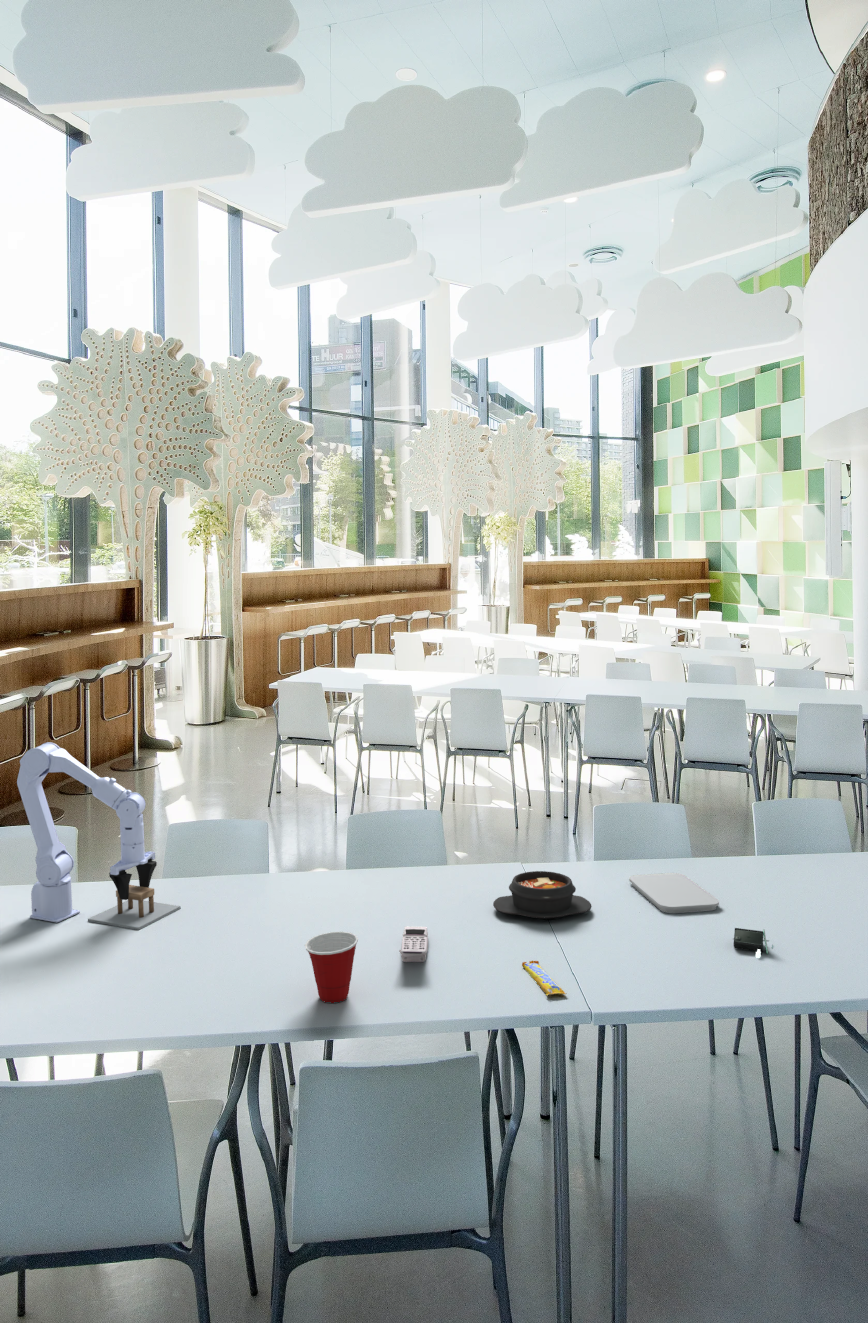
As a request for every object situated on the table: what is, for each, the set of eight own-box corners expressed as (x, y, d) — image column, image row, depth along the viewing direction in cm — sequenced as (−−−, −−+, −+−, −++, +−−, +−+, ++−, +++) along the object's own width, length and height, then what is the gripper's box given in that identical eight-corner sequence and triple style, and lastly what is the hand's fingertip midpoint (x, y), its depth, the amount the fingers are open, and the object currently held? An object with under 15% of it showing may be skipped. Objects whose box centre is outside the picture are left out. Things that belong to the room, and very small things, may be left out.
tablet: (680, 880, 260) (680, 872, 260) (723, 912, 235) (723, 903, 235) (625, 883, 258) (625, 875, 258) (662, 916, 232) (663, 907, 232)
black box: (710, 956, 207) (711, 933, 207) (716, 933, 221) (717, 910, 221) (782, 966, 202) (782, 942, 201) (783, 941, 216) (784, 918, 215)
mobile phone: (398, 951, 197) (403, 909, 221) (398, 978, 197) (403, 933, 222) (426, 951, 196) (428, 909, 221) (426, 978, 197) (428, 933, 222)
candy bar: (520, 968, 202) (520, 960, 202) (538, 966, 203) (538, 958, 203) (547, 1002, 186) (547, 993, 185) (567, 999, 187) (567, 990, 186)
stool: (141, 918, 232) (140, 894, 231) (116, 913, 235) (115, 890, 234) (155, 911, 236) (154, 888, 236) (130, 907, 239) (129, 884, 239)
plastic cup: (307, 987, 192) (305, 931, 191) (359, 984, 193) (358, 929, 192) (304, 1010, 182) (302, 951, 181) (359, 1008, 183) (358, 949, 182)
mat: (87, 921, 231) (87, 918, 231) (131, 900, 246) (131, 898, 246) (138, 930, 225) (138, 927, 225) (180, 908, 240) (180, 906, 240)
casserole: (496, 926, 226) (496, 892, 225) (490, 900, 244) (490, 869, 244) (597, 924, 226) (598, 891, 226) (584, 898, 245) (584, 867, 244)
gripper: (125, 851, 226) (127, 905, 227) (163, 836, 239) (165, 887, 240) (102, 848, 228) (104, 902, 230) (142, 833, 242) (143, 884, 243)
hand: (134, 894), depth 235 cm, fingers open, 7 cm apart
